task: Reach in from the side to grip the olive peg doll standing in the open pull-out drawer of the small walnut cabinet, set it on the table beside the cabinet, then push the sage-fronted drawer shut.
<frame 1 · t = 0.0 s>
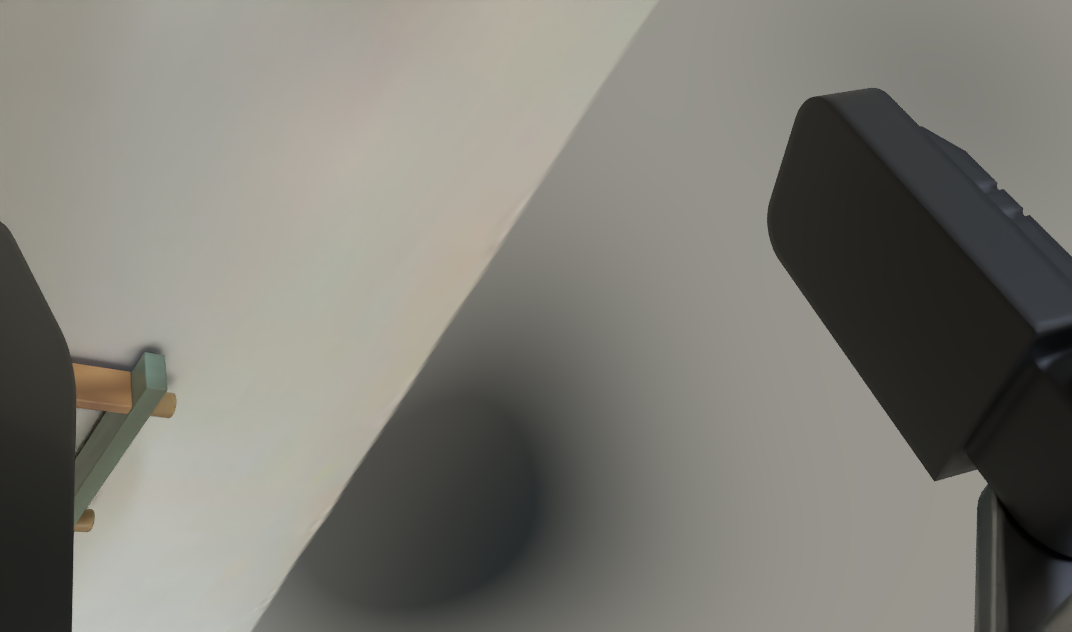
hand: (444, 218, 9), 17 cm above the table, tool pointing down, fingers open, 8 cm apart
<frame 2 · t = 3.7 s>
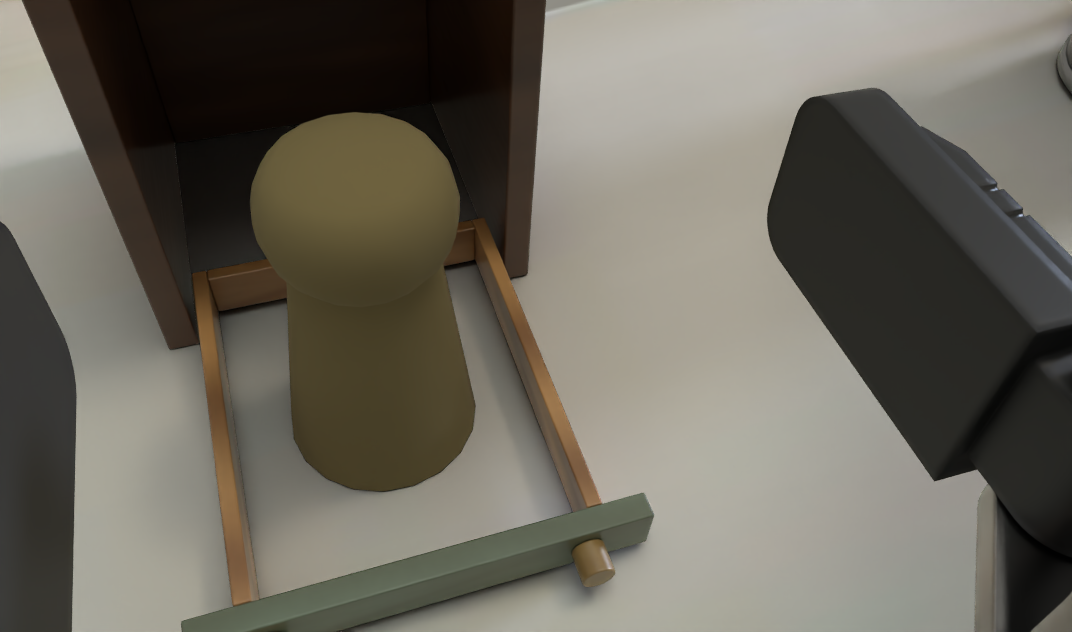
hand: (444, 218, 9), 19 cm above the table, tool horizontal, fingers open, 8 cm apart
olive peg doll: (384, 413, 30), resting in drawer
cabinet: (327, 200, 36), on the table
drawer: (388, 416, 29), point 1 cm above the table, slide at 9.0 cm
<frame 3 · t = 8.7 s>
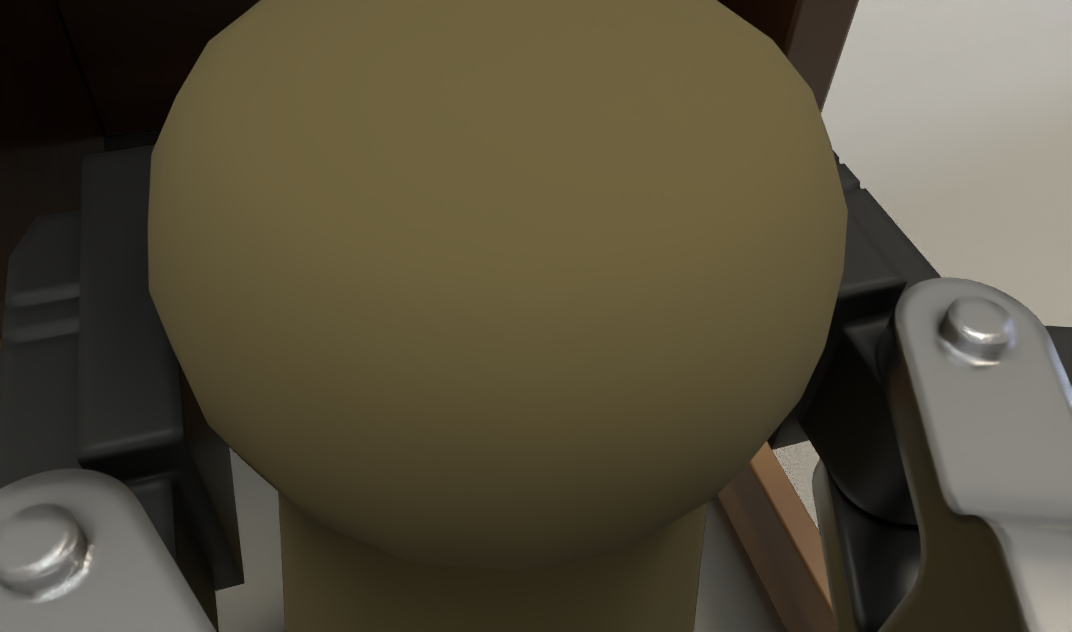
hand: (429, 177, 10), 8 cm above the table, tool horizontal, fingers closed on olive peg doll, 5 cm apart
cabinet: (363, 232, 21), on the table
when the fingers open (8 cm above the table, at t = 15.2 s): olive peg doll stays where it is, on the table.
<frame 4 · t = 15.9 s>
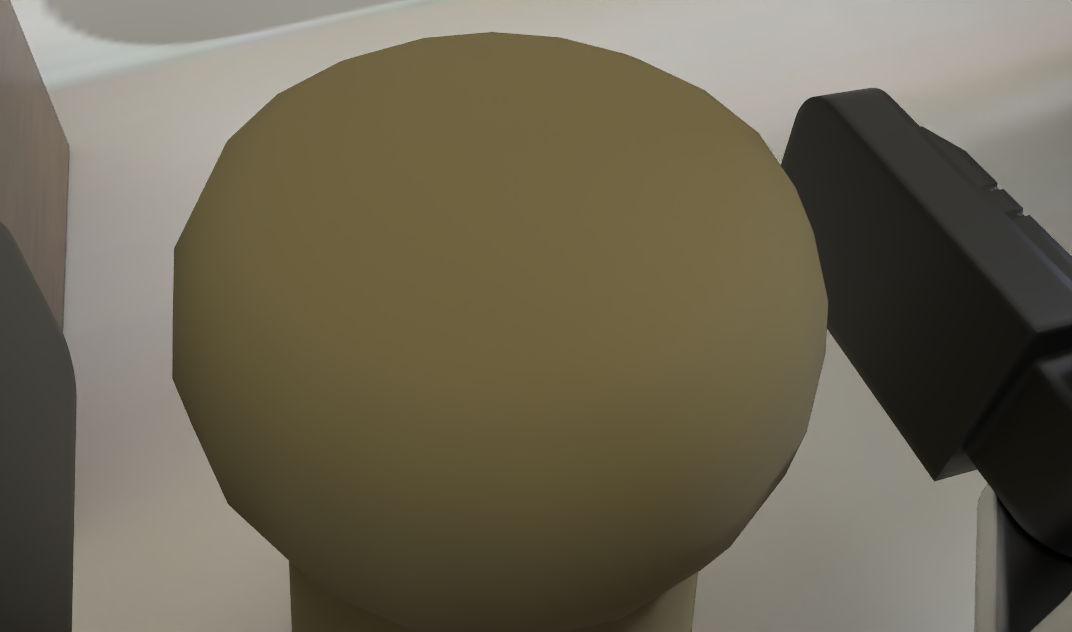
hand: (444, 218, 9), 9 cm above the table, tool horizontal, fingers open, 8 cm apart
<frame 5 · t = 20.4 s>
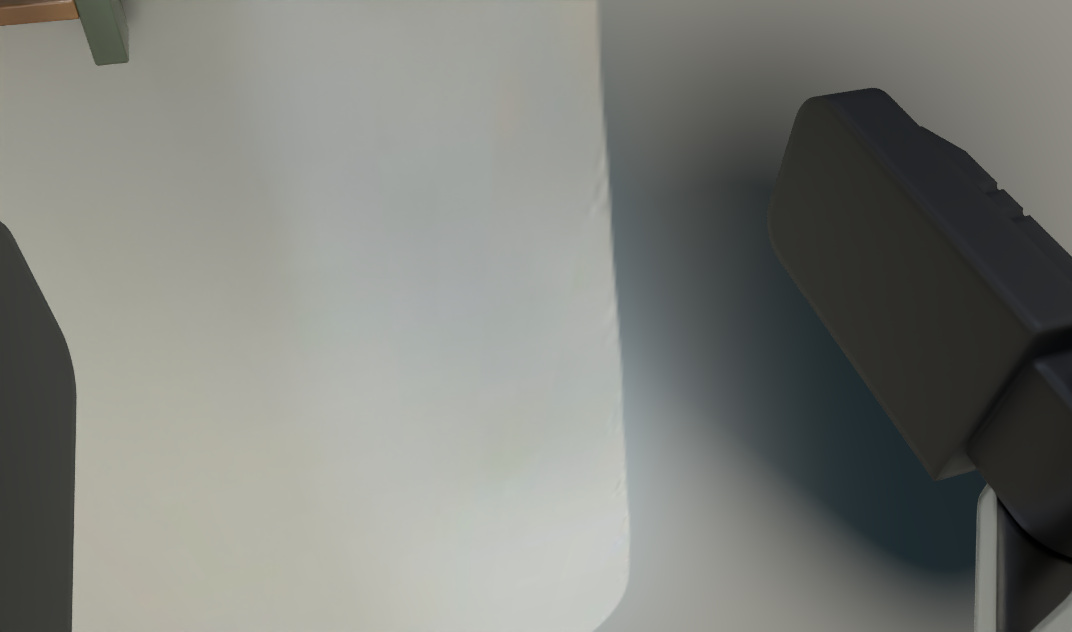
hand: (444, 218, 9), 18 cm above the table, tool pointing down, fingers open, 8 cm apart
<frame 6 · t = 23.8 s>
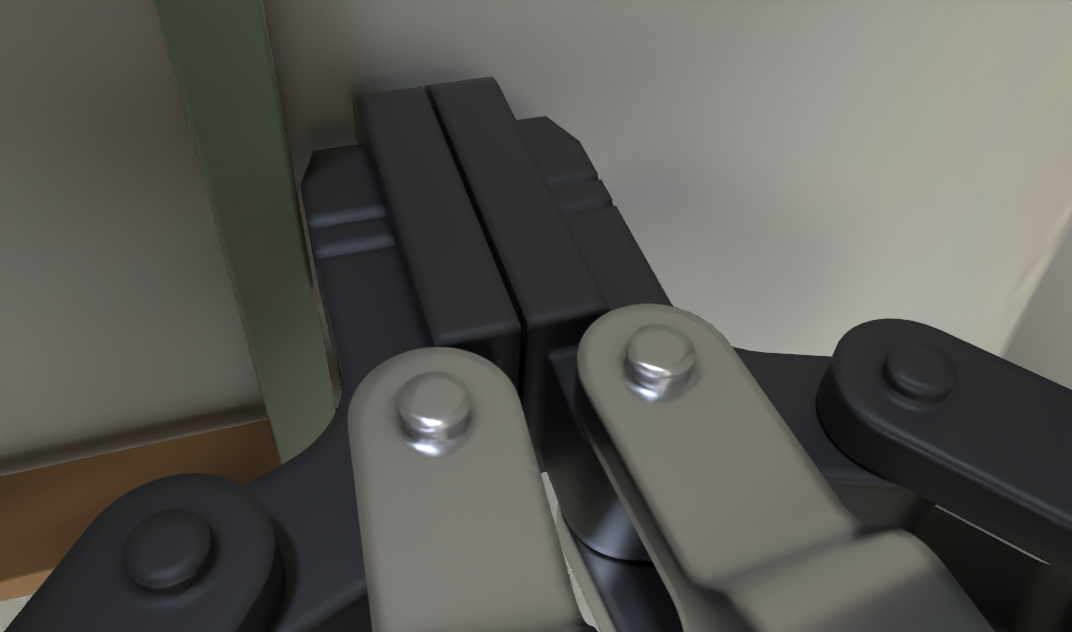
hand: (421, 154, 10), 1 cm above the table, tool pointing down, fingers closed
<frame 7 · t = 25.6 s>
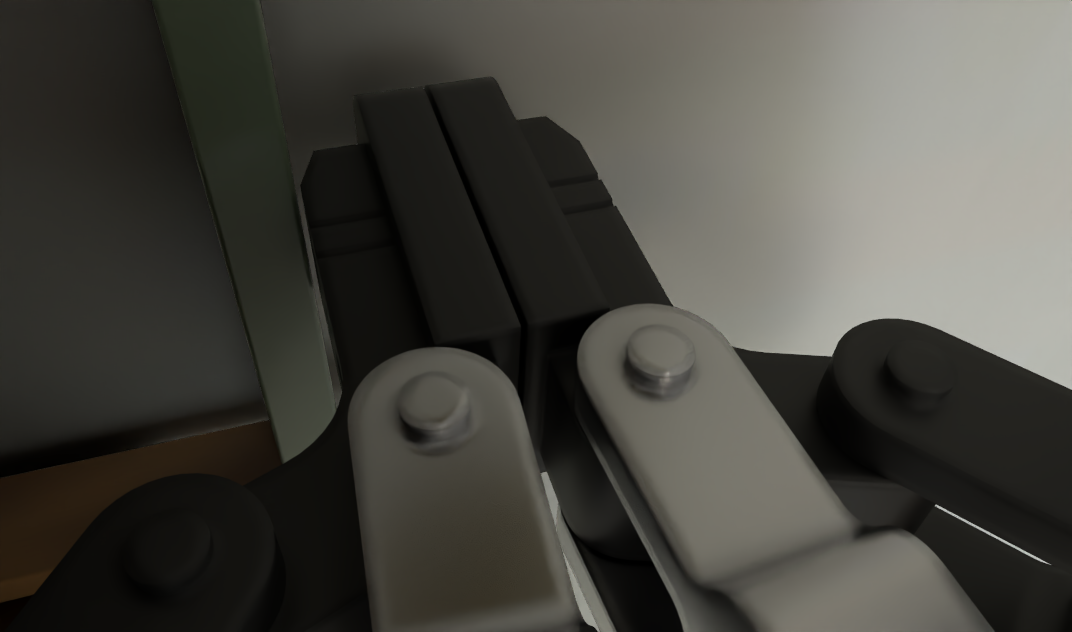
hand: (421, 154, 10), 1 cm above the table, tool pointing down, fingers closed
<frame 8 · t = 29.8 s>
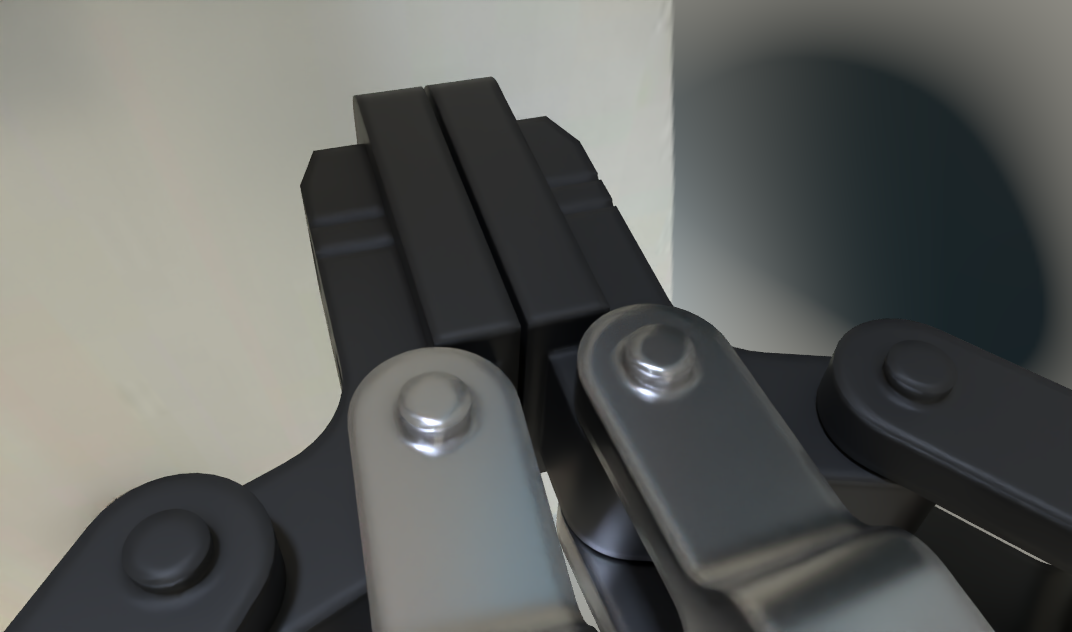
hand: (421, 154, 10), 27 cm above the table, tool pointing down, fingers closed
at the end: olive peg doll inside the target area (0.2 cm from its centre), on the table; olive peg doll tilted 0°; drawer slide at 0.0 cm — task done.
